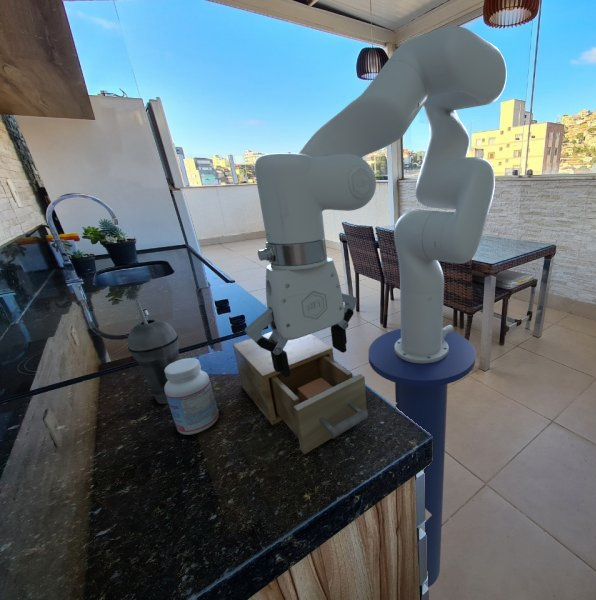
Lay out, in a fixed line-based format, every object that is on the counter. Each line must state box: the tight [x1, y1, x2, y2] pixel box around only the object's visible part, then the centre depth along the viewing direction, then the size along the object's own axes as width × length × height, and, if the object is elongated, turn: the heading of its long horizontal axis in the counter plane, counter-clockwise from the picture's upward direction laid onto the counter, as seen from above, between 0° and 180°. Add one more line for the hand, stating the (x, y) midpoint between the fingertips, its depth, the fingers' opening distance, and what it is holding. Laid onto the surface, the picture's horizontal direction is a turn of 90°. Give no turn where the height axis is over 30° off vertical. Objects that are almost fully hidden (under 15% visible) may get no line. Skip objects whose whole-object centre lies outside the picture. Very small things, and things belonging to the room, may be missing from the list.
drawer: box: [268, 355, 369, 455], centre depth 51 cm, size 18×11×8 cm, turn 43°
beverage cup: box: [127, 298, 181, 405], centre depth 57 cm, size 7×7×20 cm
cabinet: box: [232, 331, 335, 426], centre depth 60 cm, size 15×13×10 cm
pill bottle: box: [164, 357, 220, 436], centre depth 52 cm, size 6×6×11 cm
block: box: [297, 378, 332, 403], centre depth 52 cm, size 4×4×4 cm
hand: (313, 360), depth 50 cm, fingers open, 9 cm apart
